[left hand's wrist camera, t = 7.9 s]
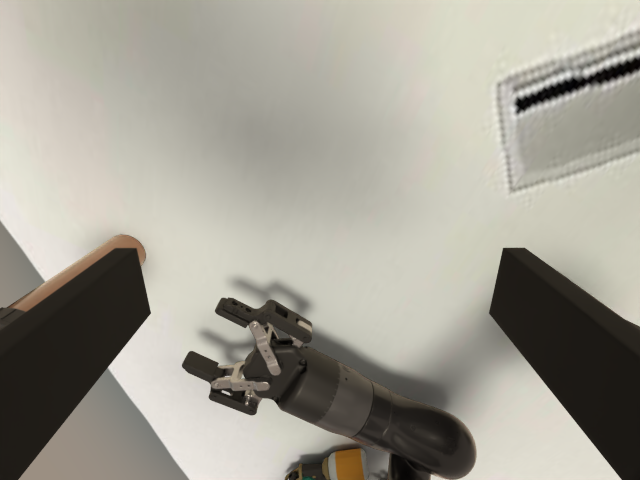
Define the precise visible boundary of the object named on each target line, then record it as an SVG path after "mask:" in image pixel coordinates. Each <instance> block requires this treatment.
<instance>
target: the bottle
mask: <svg viewBox="0 0 640 480" xmlns="http://www.w3.org/2000/svg"><path fill="white" fill-rule="evenodd" d="M115 248H137V251H138V256H139V261H140V265H142V264H143V263H144V261H145V250H144V248H143V246H142V245H141V243H140V242H139V241H137V240H136V239H135V238H133V237H131V236H127V235H117V236H114V237H113V238H111V239H110V240H108V241H106V242H105V243H103V244H102V245H100V246H99V247H97V248H96V249H94V250H93V251H91V252H90V253H88V254H87V255H85V256H84V257H82V258H81V259H79V260H78V261H76V262H75V263H73V264H72V265H70V266H69V267H67V268H66V269H64V270H63V271H61V272H60V273H58V274H57V275H55V276H54V277H52V278H51V279H49V280H48V281H46V282H45V283H43V284H42V285H40V286H39V287H37V288H36V289H34V290H33V291H31V292H30V293H28V294H26V295H25V296H23V297H22V298H20V299H19V300H17V301H16V302H14V303H13V304H11V305H10V306H8V307H7V308H16V309H19V310H23V311H25V312H27V311H28V310H30V309H31V308H32V307H34V306H35V305H37V304H38V303H39V302H41V301H42V300H43V299H45V298H46V297H48V296H49V295H50V294H52V293H53V292H55V291H56V290H57V289H59V288H60V287H62V286H63V285H64V284H66V283H67V282H69V281H70V280H71V279H73V278H74V277H76V276H77V275H78V274H80V273H81V272H83V271H84V270H85V269H87V268H88V267H89V266H91V265H92V264H94V263H95V262H96V261H98V260H99V259H101V258H102V257H103V256H105V255H106V254H108V253H109V252H110V251H112V250H113V249H115Z"/></svg>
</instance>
